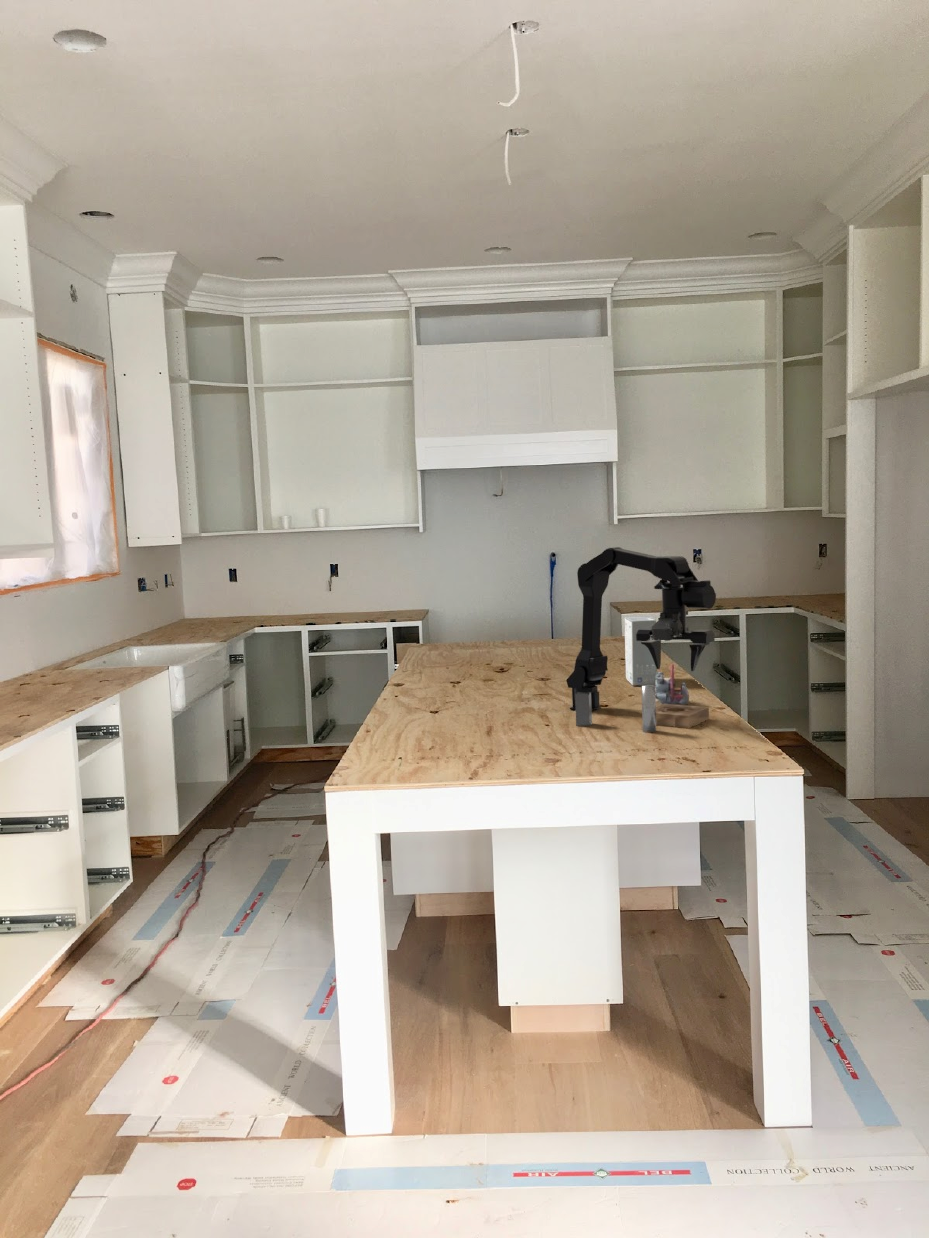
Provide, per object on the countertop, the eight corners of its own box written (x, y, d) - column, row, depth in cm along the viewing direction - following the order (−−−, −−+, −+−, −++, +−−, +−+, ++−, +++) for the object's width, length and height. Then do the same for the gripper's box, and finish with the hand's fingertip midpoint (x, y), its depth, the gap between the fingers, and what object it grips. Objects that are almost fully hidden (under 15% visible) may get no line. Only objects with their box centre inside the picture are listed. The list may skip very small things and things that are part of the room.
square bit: (576, 725, 248) (575, 694, 247) (578, 723, 251) (577, 691, 250) (589, 726, 247) (588, 694, 246) (591, 723, 250) (591, 692, 249)
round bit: (640, 731, 238) (639, 686, 237) (646, 729, 240) (645, 684, 239) (652, 733, 236) (651, 687, 235) (658, 730, 239) (657, 685, 237)
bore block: (643, 723, 247) (643, 711, 247) (664, 715, 256) (664, 703, 256) (688, 728, 240) (688, 715, 239) (709, 719, 249) (708, 707, 249)
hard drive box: (657, 685, 301) (656, 620, 299) (632, 686, 301) (630, 621, 299) (649, 677, 316) (647, 615, 314) (625, 678, 316) (623, 616, 315)
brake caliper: (698, 698, 264) (669, 663, 265) (665, 723, 267) (637, 688, 267) (698, 691, 275) (670, 657, 276) (666, 715, 278) (639, 681, 278)
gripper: (624, 609, 244) (626, 672, 246) (696, 611, 233) (697, 677, 235) (645, 605, 253) (646, 666, 255) (714, 607, 242) (716, 670, 244)
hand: (675, 669), depth 247 cm, fingers open, 9 cm apart
